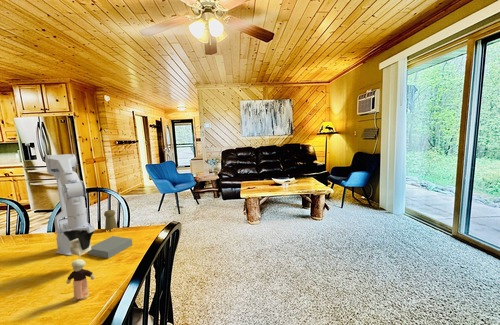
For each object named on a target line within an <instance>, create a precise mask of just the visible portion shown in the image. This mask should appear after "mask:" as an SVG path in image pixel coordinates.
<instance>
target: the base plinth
mask: <svg viewBox="0 0 500 325" xmlns="http://www.w3.org/2000/svg"><path fill="white" fill-rule="evenodd" d="M131 246H133V239H132V238H129V237H128V238H127V237H124V236H123V237H122V236H116V235H115V236H114V235H112V236H109V237H108V238H105V239H104V240H102V241H99V242H98V243H95V244H93V245H91V250H90V251H88V252H87V255H89V256H93V257H99V258H104V259H111V258H112V257H114V256H116V255H117V254H119V253H121V252H122V251H124V250H126V249H128V248H130V247H131Z"/></svg>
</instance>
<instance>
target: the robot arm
mask: <svg viewBox="0 0 500 325" xmlns="http://www.w3.org/2000/svg"><path fill="white" fill-rule="evenodd" d="M44 158H45V166H46V171H47V173H48V175H50V176H54V178H55V180H56V185H57V186H56V187H57V191H58V192H57V193H58V199H59V203H60V204H59V205H60V209H61V210H60V212H59V213H58V214H57V215H55V216H54V228H55V233H56V234H57V235H56V239H55V240H56V246H57V247H56V248H57V250H56V251H55V254H61V255H65V256H72V255H73V254H71V250H70V241H72V240H74V239H77V238H78V239H79V241H80V245H81V248H82V250H85V249H87V248H89V245H90V241H91V239H92V236H93V234H94V232H95V228H96V227H95V225H92V224H90V223H89V222H88V216H87V207H86V206H87V205H86V200H85V197H86V194H87V190H86V189H87V188H86V185H85V182H84V181H83V180H81V179H80V177H79V175H78V173H77V172H75V171H76V167H77V165H78V164H77V157H76V154H74V153H68V154H67V153H66V154H51V155H50V154H47V155H45V157H44Z"/></svg>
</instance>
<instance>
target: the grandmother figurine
mask: <svg viewBox="0 0 500 325" xmlns="http://www.w3.org/2000/svg"><path fill="white" fill-rule="evenodd" d="M86 264H87V262H86V261H85V260H83V259H81V258H77V259H75V260H74V261H72V262H71V267H72V272H71V273H69V275H68V277H67V280H66V282H65V283H66V285H69V284H71V281H72V280H73V281H72V285H73V297H72V298H71V299H70V301H71V302H76V301H78V300H81V301H83V300H86V299H88V298H89V295H90V293H89V284H88V280H87V277H88V278H90V279H91V281H93V280H95V278H96V277H95V276H94V273H93V271H90V270H88V269H84V266H85V265H86Z"/></svg>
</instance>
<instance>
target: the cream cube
mask: <svg viewBox="0 0 500 325" xmlns="http://www.w3.org/2000/svg"><path fill="white" fill-rule="evenodd" d="M91 246H92V242H91V240H90V245H89V248H87V249H85V250H82V248H81V245H80V241H79V239H78V238H77V239H74V240H72V241H70V250H71V254H72V255H75V256H78V257H81V255H84V254H85V253H88V251H90V250H91Z"/></svg>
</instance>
